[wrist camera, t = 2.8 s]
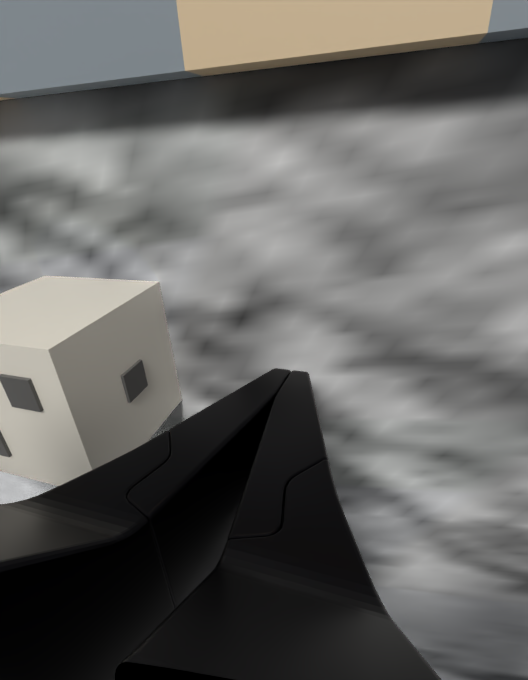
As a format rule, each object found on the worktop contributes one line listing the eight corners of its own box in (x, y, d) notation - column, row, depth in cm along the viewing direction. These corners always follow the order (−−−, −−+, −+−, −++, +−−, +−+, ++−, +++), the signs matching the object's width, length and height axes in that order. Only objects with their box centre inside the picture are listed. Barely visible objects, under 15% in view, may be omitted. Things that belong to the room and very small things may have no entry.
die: (162, 280, 10) (48, 352, 7) (185, 398, 12) (102, 500, 9) (47, 274, 12) (-100, 333, 8) (83, 383, 13) (-25, 467, 10)
